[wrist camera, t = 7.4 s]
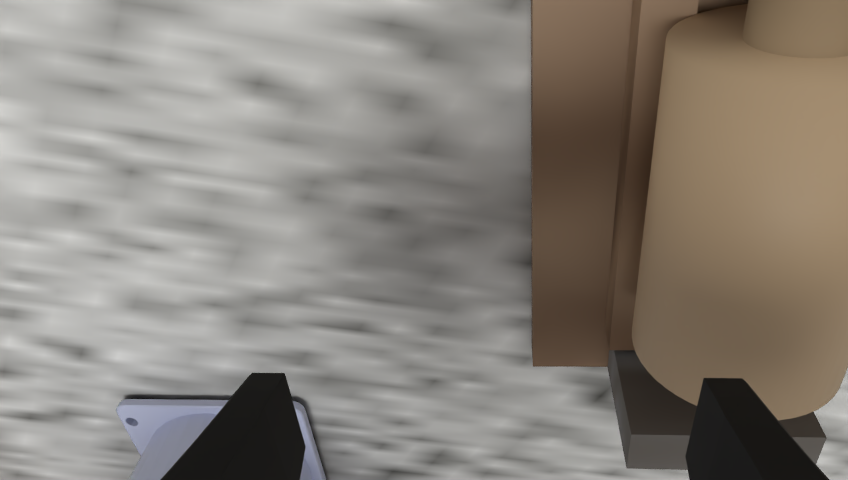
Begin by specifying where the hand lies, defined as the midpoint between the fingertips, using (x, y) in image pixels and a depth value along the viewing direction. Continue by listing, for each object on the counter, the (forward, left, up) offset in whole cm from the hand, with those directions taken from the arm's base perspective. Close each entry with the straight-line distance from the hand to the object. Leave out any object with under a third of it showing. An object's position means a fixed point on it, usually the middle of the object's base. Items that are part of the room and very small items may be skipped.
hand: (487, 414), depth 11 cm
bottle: (+1, -6, -8) cm, 10 cm away
